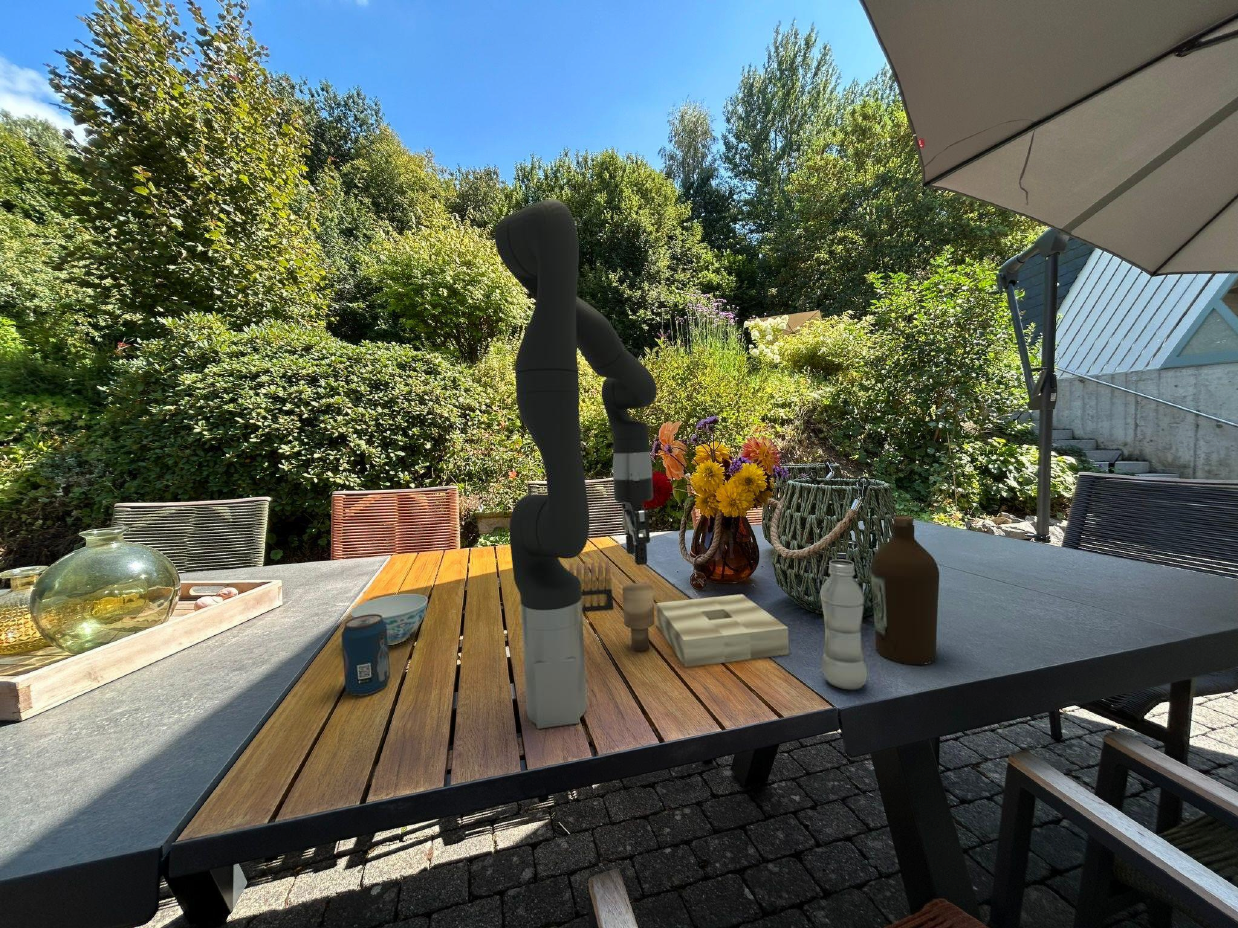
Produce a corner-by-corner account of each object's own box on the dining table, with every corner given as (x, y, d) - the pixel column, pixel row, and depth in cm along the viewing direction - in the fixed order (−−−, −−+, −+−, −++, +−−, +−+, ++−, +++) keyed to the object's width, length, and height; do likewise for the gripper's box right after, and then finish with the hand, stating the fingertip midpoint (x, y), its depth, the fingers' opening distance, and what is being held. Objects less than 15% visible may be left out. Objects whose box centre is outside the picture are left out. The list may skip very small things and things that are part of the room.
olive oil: (929, 643, 90) (927, 512, 89) (949, 670, 80) (948, 522, 79) (867, 639, 94) (864, 512, 92) (878, 663, 83) (876, 522, 82)
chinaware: (429, 646, 99) (427, 609, 99) (347, 661, 94) (344, 623, 93) (429, 622, 113) (427, 590, 113) (358, 634, 108) (355, 600, 107)
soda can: (349, 682, 85) (344, 616, 84) (392, 674, 87) (387, 610, 87) (342, 702, 79) (336, 630, 78) (388, 692, 81) (383, 623, 80)
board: (788, 654, 89) (788, 627, 88) (685, 667, 85) (683, 639, 85) (743, 615, 108) (742, 594, 108) (657, 625, 105) (656, 603, 105)
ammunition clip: (612, 606, 118) (610, 559, 117) (613, 609, 116) (611, 560, 116) (569, 610, 117) (567, 561, 116) (569, 612, 115) (567, 563, 115)
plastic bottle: (842, 698, 73) (839, 569, 72) (813, 677, 80) (810, 559, 79) (877, 691, 75) (874, 565, 74) (845, 671, 81) (843, 555, 80)
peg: (658, 652, 92) (656, 591, 91) (628, 656, 91) (625, 594, 90) (651, 639, 98) (649, 582, 97) (622, 643, 97) (620, 584, 96)
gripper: (608, 474, 99) (612, 552, 100) (619, 480, 85) (624, 570, 86) (643, 472, 100) (647, 548, 101) (660, 477, 86) (664, 566, 87)
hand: (636, 558), depth 93 cm, fingers open, 8 cm apart
